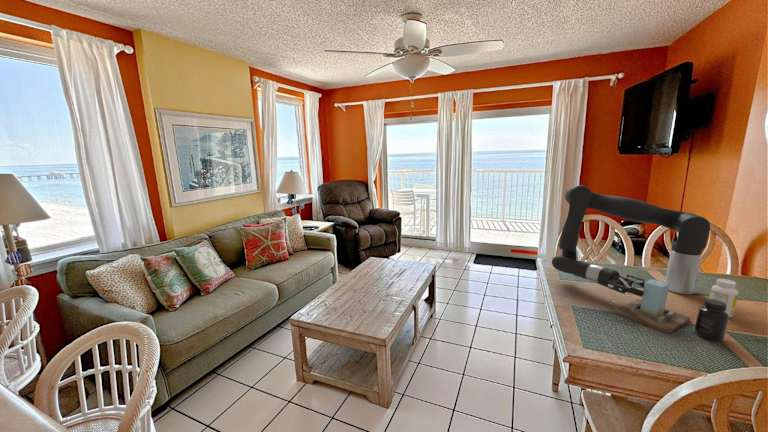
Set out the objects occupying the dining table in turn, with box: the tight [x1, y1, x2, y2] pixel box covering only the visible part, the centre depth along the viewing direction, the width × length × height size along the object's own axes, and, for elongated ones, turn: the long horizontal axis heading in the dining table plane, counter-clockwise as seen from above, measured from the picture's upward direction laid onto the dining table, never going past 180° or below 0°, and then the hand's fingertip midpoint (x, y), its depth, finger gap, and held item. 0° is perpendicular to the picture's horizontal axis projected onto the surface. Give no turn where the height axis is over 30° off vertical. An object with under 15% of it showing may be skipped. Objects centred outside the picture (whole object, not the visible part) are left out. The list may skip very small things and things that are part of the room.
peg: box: [640, 278, 669, 317], centre depth 111 cm, size 5×5×12 cm
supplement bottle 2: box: [693, 298, 730, 342], centre depth 99 cm, size 7×7×12 cm
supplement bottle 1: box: [708, 278, 739, 318], centre depth 112 cm, size 7×7×13 cm
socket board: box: [614, 298, 692, 335], centre depth 112 cm, size 16×16×3 cm
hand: (649, 291), depth 112 cm, fingers open, 8 cm apart
